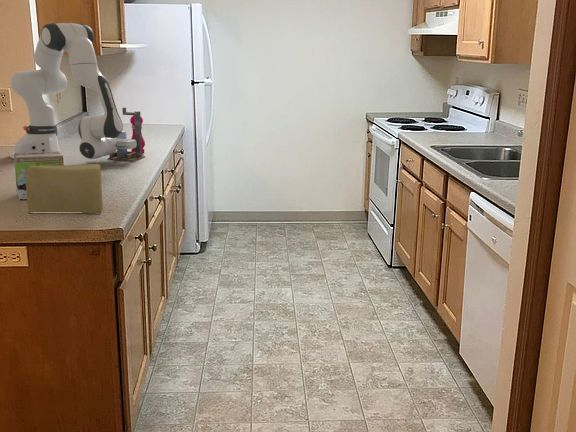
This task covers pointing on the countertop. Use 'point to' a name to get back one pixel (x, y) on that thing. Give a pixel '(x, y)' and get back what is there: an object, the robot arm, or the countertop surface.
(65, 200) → the olive green box
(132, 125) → the pepper mill
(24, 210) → the countertop surface
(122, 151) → the grey tapered cup
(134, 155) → the hanger stand
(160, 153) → the countertop surface
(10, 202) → the countertop surface
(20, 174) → the tea box
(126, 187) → the countertop surface
